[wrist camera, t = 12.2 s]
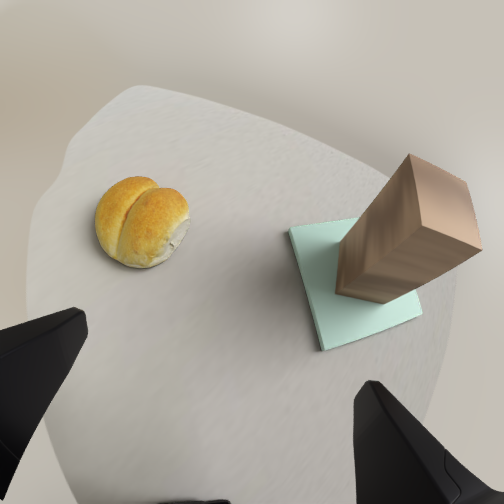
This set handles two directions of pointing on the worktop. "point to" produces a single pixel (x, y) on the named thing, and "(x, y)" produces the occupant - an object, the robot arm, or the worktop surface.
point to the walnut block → (408, 234)
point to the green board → (324, 283)
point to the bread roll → (141, 222)
